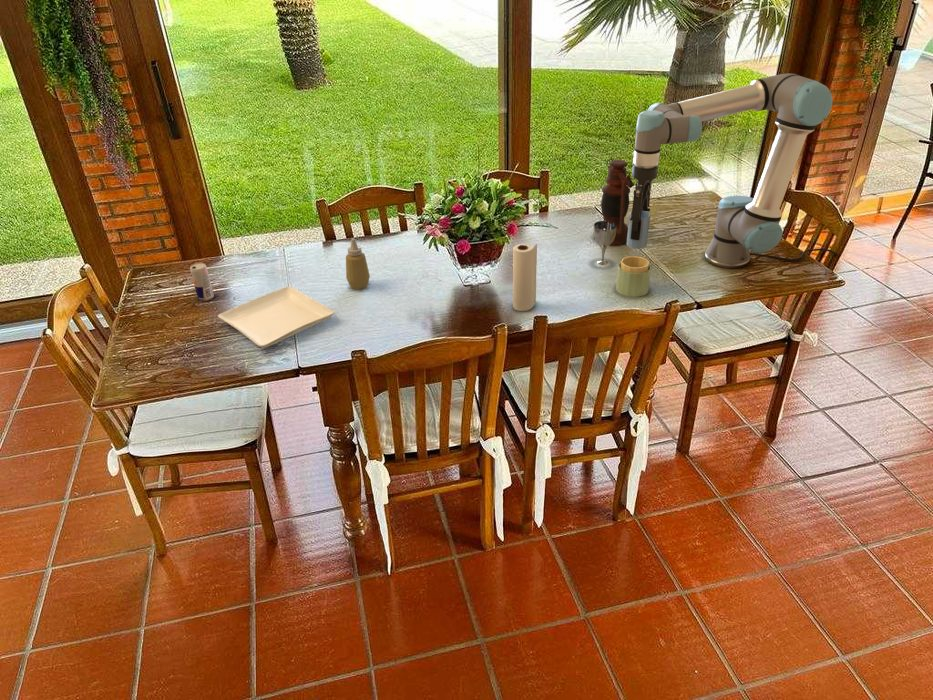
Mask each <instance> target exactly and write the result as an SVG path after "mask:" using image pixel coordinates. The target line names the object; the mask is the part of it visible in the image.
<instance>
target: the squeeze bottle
mask: <svg viewBox="0 0 933 700" xmlns="http://www.w3.org/2000/svg"><path fill="white" fill-rule="evenodd" d="M345 272H346V273H345V274H346V275H345V277H346V280H347V283H348V284H349V286H350V288H351V289H352V290H355V291H360V290H364V289H366V288H368V286H369V281H370V277H371V275H370V270H369V267H368V262H367V258H366V254H365V253H364V252H363V250H362V247H361V246H359V245H358V244H357V241H356V238H355V237H353V238H351V240H350V247H348V248H347V254H346V256H345Z"/></svg>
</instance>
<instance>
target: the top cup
mask: <svg viewBox="0 0 933 700" xmlns="http://www.w3.org/2000/svg"><path fill="white" fill-rule="evenodd" d="M631 215H632V211H630V212H629V216H628V225H627V227H628V235H627V243H626V246H627V247H628V248H630V249H634V250H642V249H646V248H647V246H648V241H649V231H650V223H651V215H652V214H651V213H650V212H648V211H642V215H641V220H642V221H641V230H640V239H639V240H633V239H631V229H632V221H631V220H630V218H631Z"/></svg>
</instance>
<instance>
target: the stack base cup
mask: <svg viewBox="0 0 933 700" xmlns="http://www.w3.org/2000/svg"><path fill="white" fill-rule="evenodd" d="M616 274H617V275H616V283H615V284H616V285H615V290H616V291H617V292H618V294H620V295H623V296H626V297H631V298H637V297H642V296H645V295H647V294H648V293H649V289H650V283H651V282H650V281H651V274H652V265H651V264H650V263H649V267H648V271H647V272H644V273H629V272H626V271H624V270H622V269H621V261H620V262H618V264H617V273H616Z"/></svg>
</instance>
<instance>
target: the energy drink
mask: <svg viewBox="0 0 933 700" xmlns="http://www.w3.org/2000/svg"><path fill="white" fill-rule="evenodd" d="M189 271H190V275H191V278H192V283H193V286H194V290H195V293H196V297H197V299H198V300H199V301H200V302H207V301H209V300H212V299H213V298H214V297H215V294H214V289H213V287H212V286H213V285H212V282H211V279H210V275H209V271H208V267H207V265H206V263H203V262H197V263H194V264H191V265H190V267H189Z"/></svg>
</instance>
